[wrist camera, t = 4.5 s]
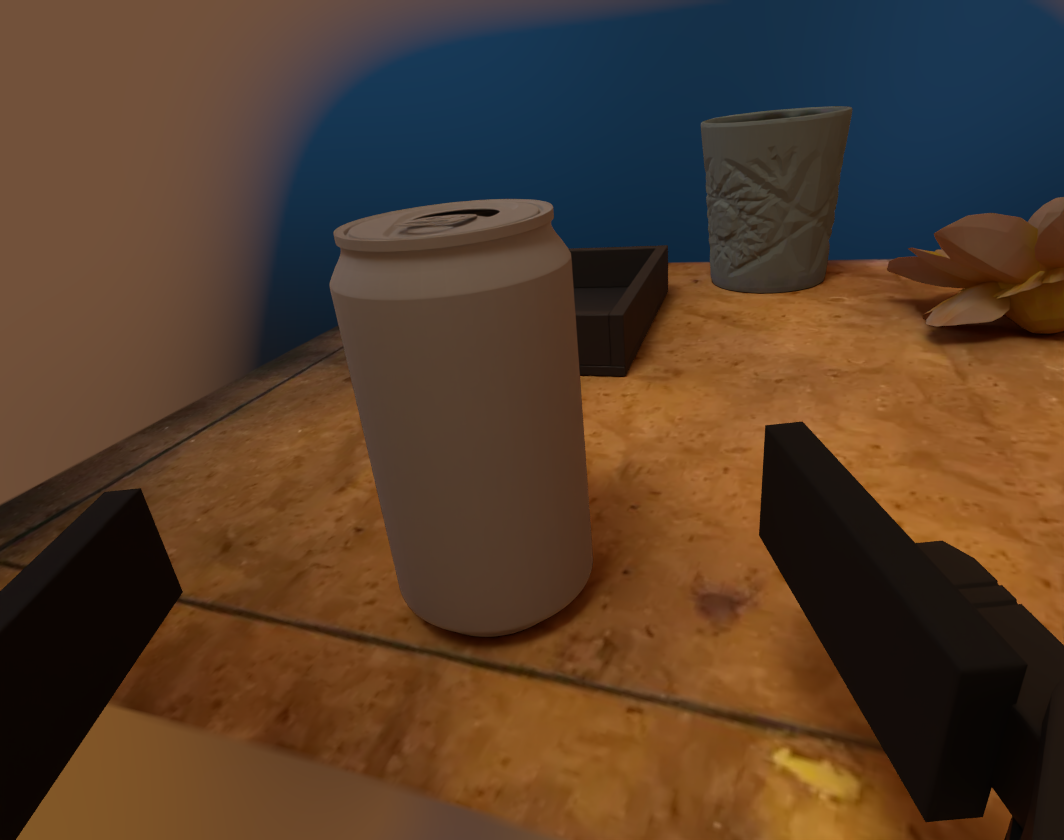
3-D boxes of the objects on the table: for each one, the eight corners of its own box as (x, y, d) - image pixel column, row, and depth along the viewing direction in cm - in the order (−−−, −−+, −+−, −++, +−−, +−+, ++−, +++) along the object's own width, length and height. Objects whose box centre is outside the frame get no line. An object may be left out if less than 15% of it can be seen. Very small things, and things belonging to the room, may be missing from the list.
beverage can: (610, 534, 24) (590, 186, 19) (568, 669, 19) (526, 230, 13) (448, 520, 26) (390, 199, 21) (367, 638, 20) (262, 243, 15)
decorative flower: (1141, 257, 42) (1203, 88, 36) (1252, 360, 33) (1356, 161, 27) (877, 283, 46) (892, 135, 40) (916, 380, 38) (943, 211, 32)
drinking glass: (834, 263, 55) (849, 103, 50) (837, 297, 47) (856, 109, 42) (708, 265, 59) (710, 116, 54) (690, 296, 50) (691, 124, 45)
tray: (355, 368, 43) (343, 314, 42) (463, 293, 58) (457, 252, 56) (625, 376, 37) (623, 314, 36) (668, 291, 52) (667, 245, 51)
